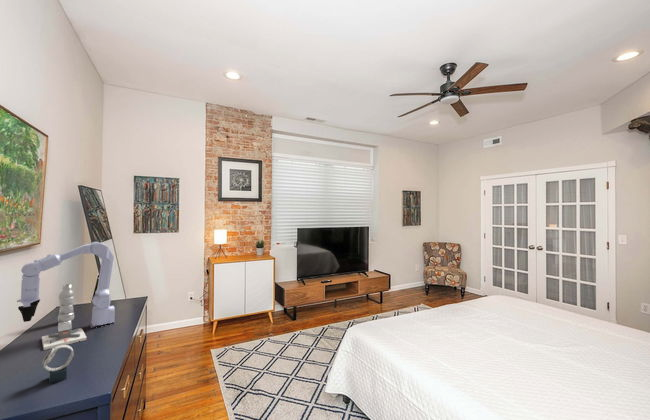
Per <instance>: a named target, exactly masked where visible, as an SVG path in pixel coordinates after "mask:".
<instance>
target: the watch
mask: <svg viewBox="0 0 650 420" xmlns="http://www.w3.org/2000/svg"><path fill="white" fill-rule="evenodd" d="M59 349H69V350H70V354H69V357H68V358H67V360H66V361H65V363H64V364H62V365H57V366H54V367H50V366H48V364H49V363H50V362H51V361H52V360H53V358H54V357H55V355H56V353H57V351H58V350H59ZM74 355H75V353H74V349H73V347H72V346H71V345H69V344H67V345H60V346H56V347H55V348H51V349H49V351H47V353H46V355H45V356H44V358H43V360H42V362H41V364H42V365H43V368H44V369H45V370H46V371H48V373H49V376H48V379H49V380H48V381H49V382H48V384H49V385H50V384H54V383H57V382H60V380H61V381H65V380H67V373H68V371H67V370H68V367H67V366H68V365H69V364H70V363H71V361H72V360H73V358H74ZM64 379H65V380H64Z"/></svg>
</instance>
